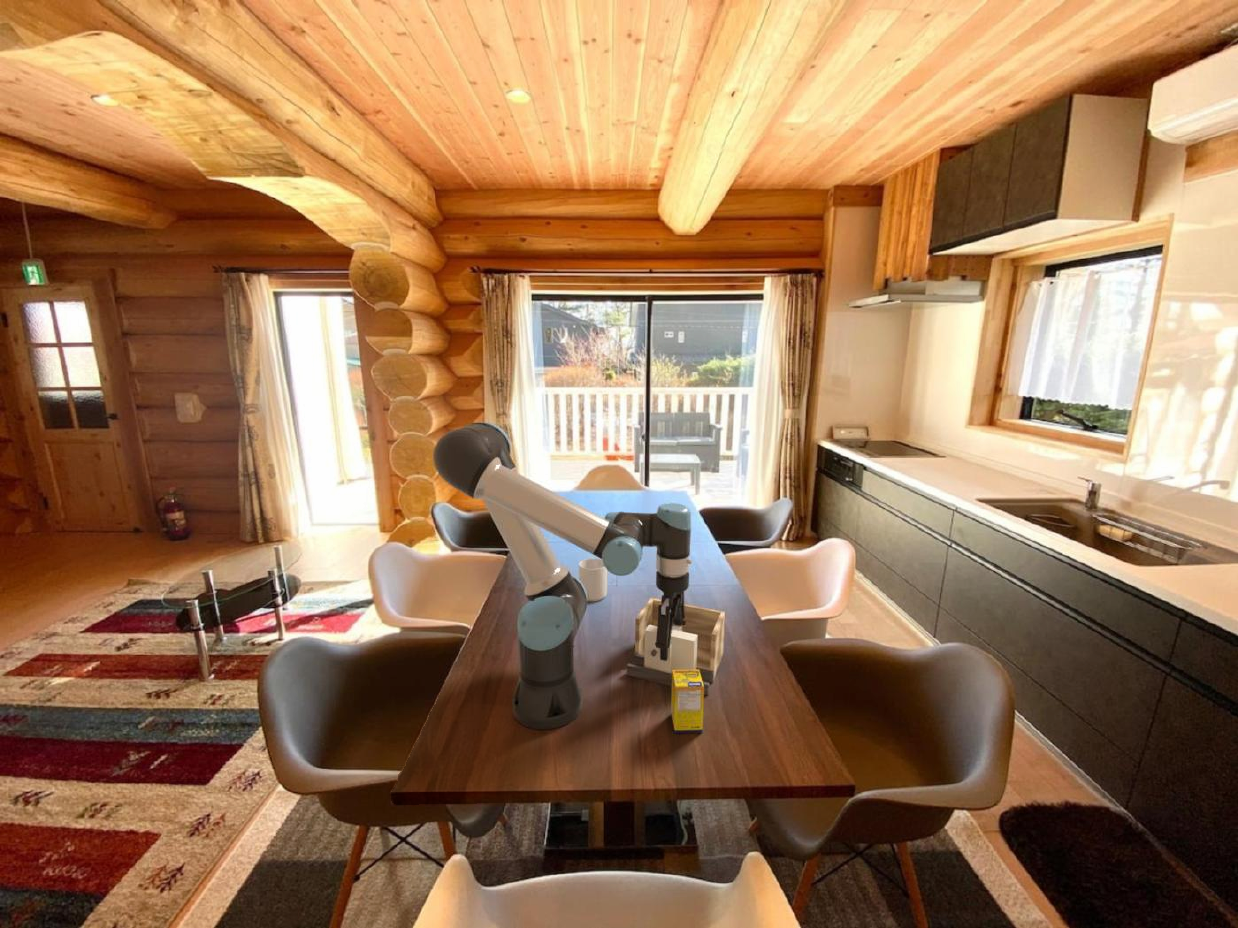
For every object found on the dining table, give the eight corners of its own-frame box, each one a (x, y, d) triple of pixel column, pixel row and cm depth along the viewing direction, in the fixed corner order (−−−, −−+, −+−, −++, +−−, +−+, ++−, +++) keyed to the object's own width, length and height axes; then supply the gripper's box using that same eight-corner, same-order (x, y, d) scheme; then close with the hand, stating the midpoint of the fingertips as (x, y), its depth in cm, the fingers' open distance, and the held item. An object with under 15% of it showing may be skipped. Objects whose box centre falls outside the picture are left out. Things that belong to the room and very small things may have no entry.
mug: (604, 603, 161) (604, 570, 158) (576, 601, 162) (576, 568, 160) (610, 586, 172) (610, 555, 170) (584, 584, 174) (583, 553, 171)
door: (691, 690, 120) (693, 643, 117) (642, 678, 124) (643, 632, 122) (695, 680, 123) (697, 634, 121) (648, 668, 128) (649, 624, 125)
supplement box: (697, 713, 112) (699, 668, 110) (702, 733, 106) (704, 686, 104) (670, 713, 112) (671, 668, 110) (674, 733, 106) (675, 686, 104)
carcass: (708, 695, 118) (710, 647, 115) (626, 674, 125) (626, 629, 123) (723, 653, 134) (725, 611, 132) (650, 638, 141) (651, 597, 139)
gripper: (675, 593, 107) (672, 689, 112) (699, 556, 127) (696, 640, 131) (641, 587, 110) (640, 681, 115) (670, 552, 129) (668, 634, 134)
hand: (670, 659), depth 123 cm, fingers open, 8 cm apart
